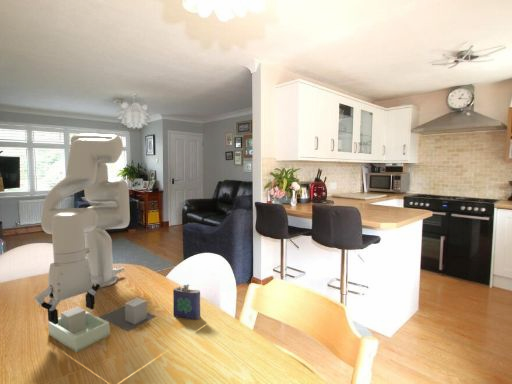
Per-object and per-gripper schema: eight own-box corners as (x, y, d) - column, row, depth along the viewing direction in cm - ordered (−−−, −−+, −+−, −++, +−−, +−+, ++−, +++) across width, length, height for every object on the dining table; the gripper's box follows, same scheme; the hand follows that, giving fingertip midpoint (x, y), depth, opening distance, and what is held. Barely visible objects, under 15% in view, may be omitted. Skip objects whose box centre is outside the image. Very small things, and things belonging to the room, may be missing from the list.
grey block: (138, 313, 94) (137, 297, 93) (147, 317, 91) (146, 300, 91) (125, 320, 90) (124, 302, 89) (134, 324, 88) (133, 306, 87)
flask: (201, 317, 92) (201, 284, 92) (197, 322, 90) (196, 288, 89) (176, 313, 95) (175, 281, 94) (171, 317, 92) (170, 284, 91)
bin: (82, 321, 90) (81, 308, 89) (109, 336, 82) (109, 322, 82) (49, 335, 82) (48, 322, 82) (76, 353, 74) (75, 338, 74)
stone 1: (78, 324, 87) (77, 306, 86) (86, 328, 84) (85, 310, 84) (61, 331, 83) (60, 312, 82) (69, 336, 80) (68, 317, 80)
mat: (127, 305, 100) (127, 304, 100) (156, 317, 92) (156, 316, 92) (99, 317, 92) (99, 316, 92) (128, 332, 84) (128, 331, 84)
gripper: (93, 247, 91) (95, 300, 92) (27, 262, 76) (31, 325, 78) (107, 251, 87) (109, 306, 88) (40, 267, 72) (44, 333, 74)
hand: (72, 314), depth 83 cm, fingers open, 9 cm apart
